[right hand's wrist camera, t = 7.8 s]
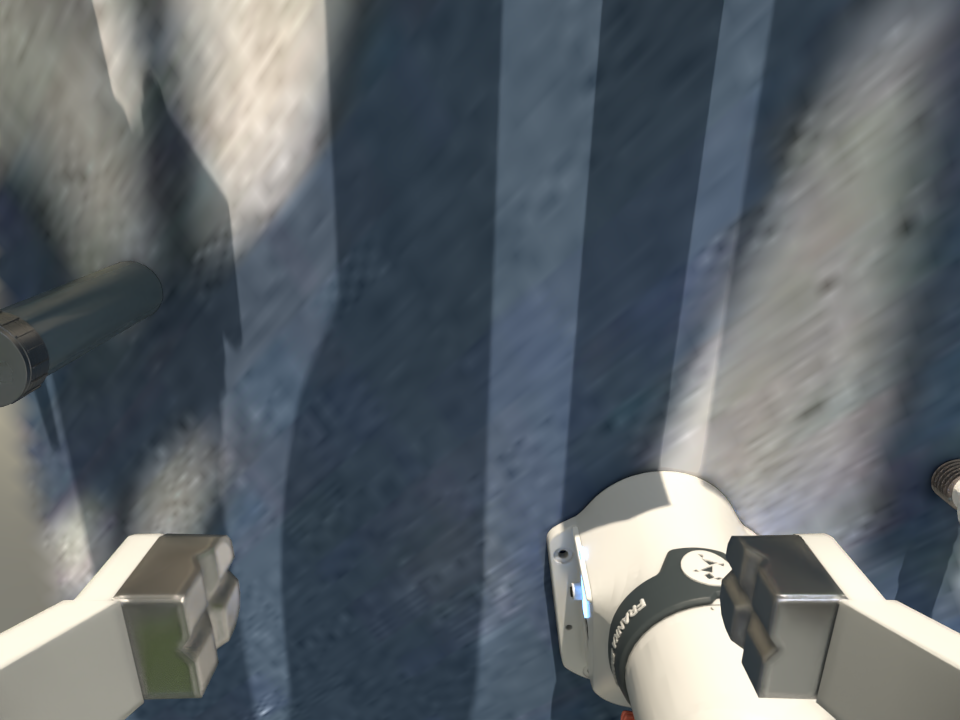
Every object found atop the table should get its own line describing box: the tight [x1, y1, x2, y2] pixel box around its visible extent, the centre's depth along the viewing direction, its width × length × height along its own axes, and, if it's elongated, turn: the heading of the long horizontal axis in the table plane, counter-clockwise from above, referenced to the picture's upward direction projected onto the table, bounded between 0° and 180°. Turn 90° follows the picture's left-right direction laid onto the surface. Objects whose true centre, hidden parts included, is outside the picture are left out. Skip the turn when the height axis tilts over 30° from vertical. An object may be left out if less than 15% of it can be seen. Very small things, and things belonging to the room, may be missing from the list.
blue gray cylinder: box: [0, 261, 163, 377], centre depth 42 cm, size 4×4×16 cm
